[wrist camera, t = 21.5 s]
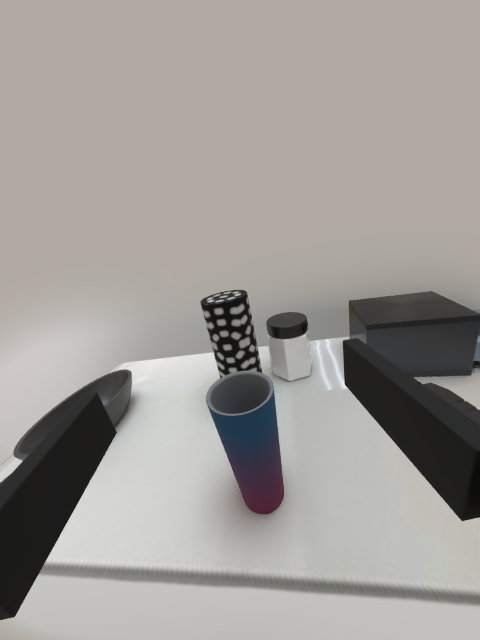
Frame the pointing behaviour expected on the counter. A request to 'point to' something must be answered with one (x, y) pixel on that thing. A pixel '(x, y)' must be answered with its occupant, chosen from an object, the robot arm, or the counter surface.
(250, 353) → the spotted tube
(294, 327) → the jar
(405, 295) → the drawer box
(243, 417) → the cup
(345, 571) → the counter surface
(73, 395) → the bowl
